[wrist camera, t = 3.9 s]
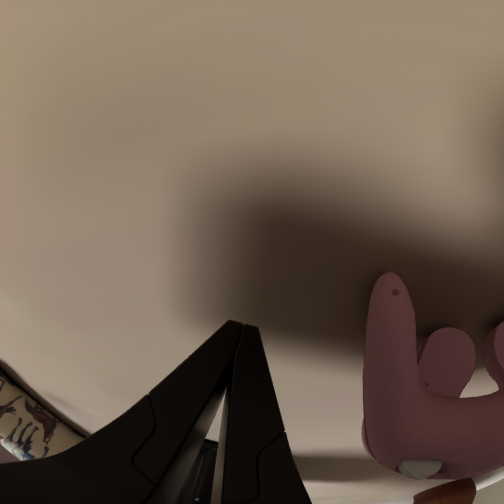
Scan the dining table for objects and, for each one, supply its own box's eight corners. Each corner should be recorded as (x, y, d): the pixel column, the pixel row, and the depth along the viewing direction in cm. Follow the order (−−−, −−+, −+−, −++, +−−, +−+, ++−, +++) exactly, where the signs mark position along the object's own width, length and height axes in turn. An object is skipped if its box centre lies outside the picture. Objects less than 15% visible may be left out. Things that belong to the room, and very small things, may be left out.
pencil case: (128, 458, 27) (102, 520, 19) (105, 457, 31) (82, 508, 23) (-17, 341, 21) (-60, 399, 13) (-16, 358, 25) (-50, 407, 17)
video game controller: (352, 318, 12) (347, 488, 8) (365, 259, 8) (363, 523, 4) (532, 298, 9) (546, 435, 6) (582, 247, 6) (611, 420, 2)
